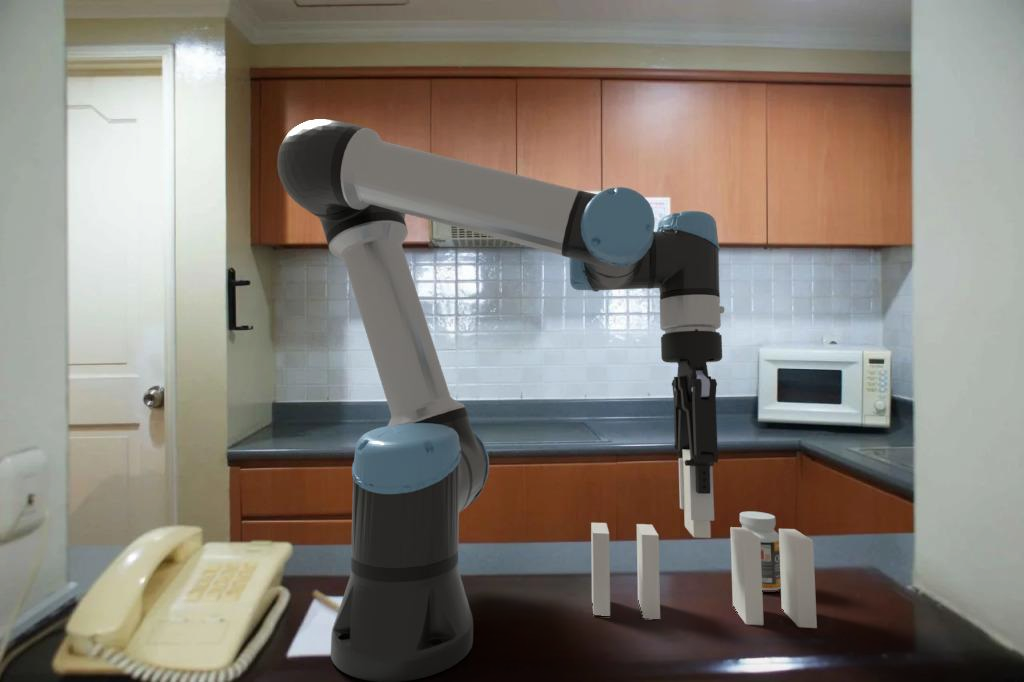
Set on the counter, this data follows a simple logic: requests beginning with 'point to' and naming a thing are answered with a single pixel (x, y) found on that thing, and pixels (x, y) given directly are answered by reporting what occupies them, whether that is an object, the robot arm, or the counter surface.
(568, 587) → the counter surface
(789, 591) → the domino
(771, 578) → the pill bottle
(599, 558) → the domino
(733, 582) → the domino
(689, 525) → the domino
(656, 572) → the domino
